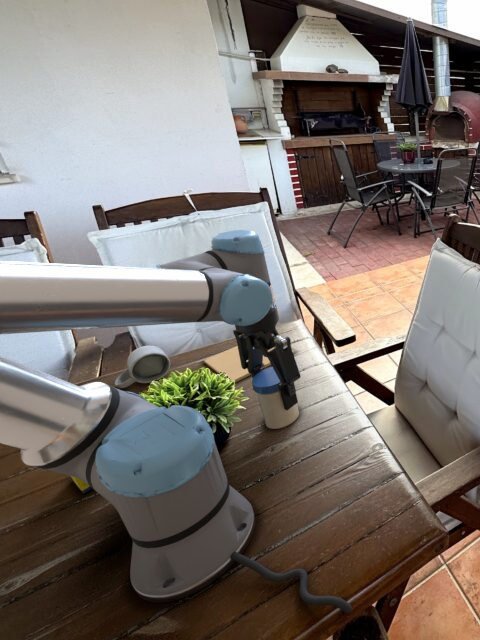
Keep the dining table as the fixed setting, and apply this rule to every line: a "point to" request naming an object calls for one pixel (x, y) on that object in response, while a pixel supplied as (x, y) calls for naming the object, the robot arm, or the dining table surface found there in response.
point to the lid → (266, 381)
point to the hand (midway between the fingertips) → (278, 400)
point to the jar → (276, 410)
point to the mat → (232, 364)
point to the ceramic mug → (144, 366)
